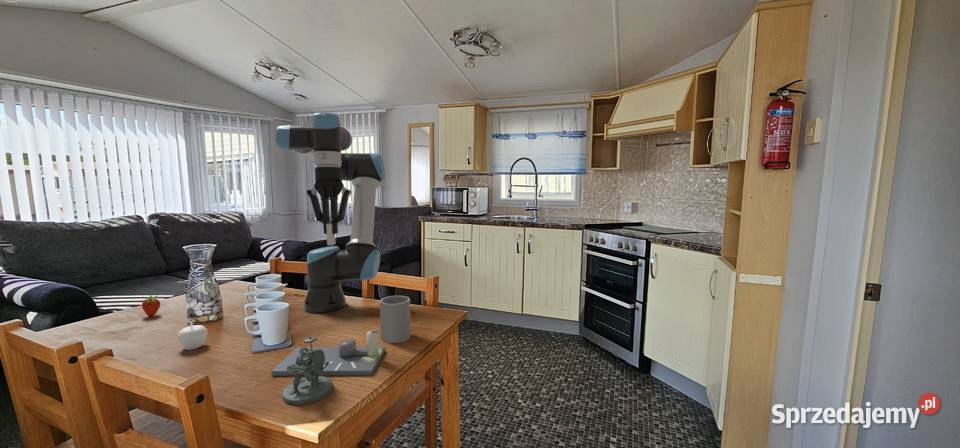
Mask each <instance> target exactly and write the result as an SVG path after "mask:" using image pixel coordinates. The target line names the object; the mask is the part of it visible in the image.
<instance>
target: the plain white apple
mask: <svg viewBox="0 0 960 448" xmlns="http://www.w3.org/2000/svg"><path fill="white" fill-rule="evenodd" d="M207 329H208V328H206V327H205V326H204V325H201V324H198V325H196V324H195V325H194V324H193V321H190V325H188V326H186V327H184V328H182V329H181V330H180V331H179V332H178V334H177V341H178V343H179V344H180V346H182V349H184V350H186V351H191V350H196V349H198V348H201V347H202V346H203V345H204V343H205V340H207V337H208V330H207Z"/></svg>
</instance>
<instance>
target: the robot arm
mask: <svg viewBox="0 0 960 448" xmlns="http://www.w3.org/2000/svg"><path fill="white" fill-rule="evenodd" d="M275 129H276V130H275V134H274V135H275V143H276V145H277V147H279V149H281V150H285V151H286V150H288V151H290V150H292V151H295V152H297V153H298V154H300V155H301V156H303V157H304V158H306V159H307V160H309V161H310V162H312V163H313V164H314V165H315V166H316V167H315V166H314V180H315V182H314V184H313V187H312V188H310V189H307V190H306V194H307V196H308V197H309V198H310V202H311V206H312V209H313V213H314V215H315V220H316V222H319V223H322V224H323V234H324V235H326V245H327V246H325V247H320V248H316V249H312V250H310V251H309V252H308V253H307V254H306V269H307V286H308V287H307V288H308V289H307V292H306V296H305V299H304V302H303V310H304V311H306V312H308V313H313V314H315V313H316V314H317V313H320V314H321V313H328V312H335V311H337V310H340V309H341V310H342V309H343V308H344V307H346V305H347V302H346V300H347V299H346V297H345V294H344V291H343V289H342V285H341V281H369V280H370V281H371V280H373V279H375V278H376V276H377V275H378V272H379V270H380V264H381V253H380V250H378V249H377V245H376V244H375V243H374V241H373V240H374V229H375V228H374V227H375V214H376V213H375V212H376V210H375V209H376V198H377V189H379V188H380V187H381V182H384V181H385V179H386V174H385V172H386V171H385V166H384V160H383V157H382V156H381V154H379V153H374V152H373V153H372V152H369V153H364V152H363V153H362V152H361V153H355V152H354V153H353V152H352V153H351V152H350V153H349V152H348V153H347V152H346V153H345V152H343V151H346V150H348V149H349V148H350V147H351V145H352V144H353V137H352V136H353V135H352V134H351V133H350V132H349V130H348V129H346V128H345V127H343V126H341V122H340V116H339V115H338V114H336V113H332V112H316V113H314V114H313V115H312V124H311V125H299V124H298V125H295V124H294V125H293V124H292V125H290V124H288V125H286V124H285V125H279V126H277V128H275ZM342 152H343V153H342ZM343 181H344V182H345V181H346V182H347V181H348V182H351V184H352V185H353V187H354V194H353V203H352V204H353V206H352V207H353V208H352V217H351V218H352V219H351V227H350V229H351V230H350V238H349V239H350V241H348V242H347V243H345V249H344V250H340V248H339V246H336V243H337V242H336V234H338V233H339V223H340V222H342V221H344V220H345V215H346V211H347V206H348V200H349V197H350V195H351V194H352V190H351V189H348V188H347V187H345V185H344V183H343ZM317 194H319V196H320V201H321V204H320V201H319V198H318V195H317ZM340 194H342V196H341V198H340V203H339V208H338V200H339V196H340ZM334 245H335V246H334Z"/></svg>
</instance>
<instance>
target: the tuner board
mask: <svg viewBox="0 0 960 448" xmlns="http://www.w3.org/2000/svg"><path fill="white" fill-rule="evenodd" d="M302 347H303V346H302ZM302 347H301V346H297V347H296V348H295V349H294V350H293V351H292V352H291V353H290V354H289V355H287V356H286V357H285V358H284V359H283V360H282V361H281V362H279V364H278V365H276V366H275V367H274V368H273V369H272V370H271V372H270V373H271V376H273V377H274V376H275V377H278V376H279V377H280V376H282V377H285V376H287V377H289V376H294V377H296V374H297V373H288V372H287V369H286V368H287V367H288V366H289V365H292V364H295V363H296V359H297V356H298V355H299V354H300V352H299V350H300V349H301V348H302ZM305 347H306V346H305ZM306 348H307V349H308V350H311V346H307V347H306ZM312 349H313V350H317V349H321V350H322V351H323V352H324V355H325V362H324V366H325V363H326V362H329V364H328V365H327V366H326V367H325V368H324V369H323V371H324V372H322V371H321V372H317V373H318V376H372V375H373V374H374V372H375V370H376V368H377V366H378V364H379V363H380V361H381V360H382V357H383V356H384V353H385V351H386V347H385V346H378V349H379V354H378V355H375V356H368V355H353V356H351V357H340V356H339V346H312ZM356 349H367V346H356ZM324 366H323V367H324ZM313 375H314V376H317V374H313Z"/></svg>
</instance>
